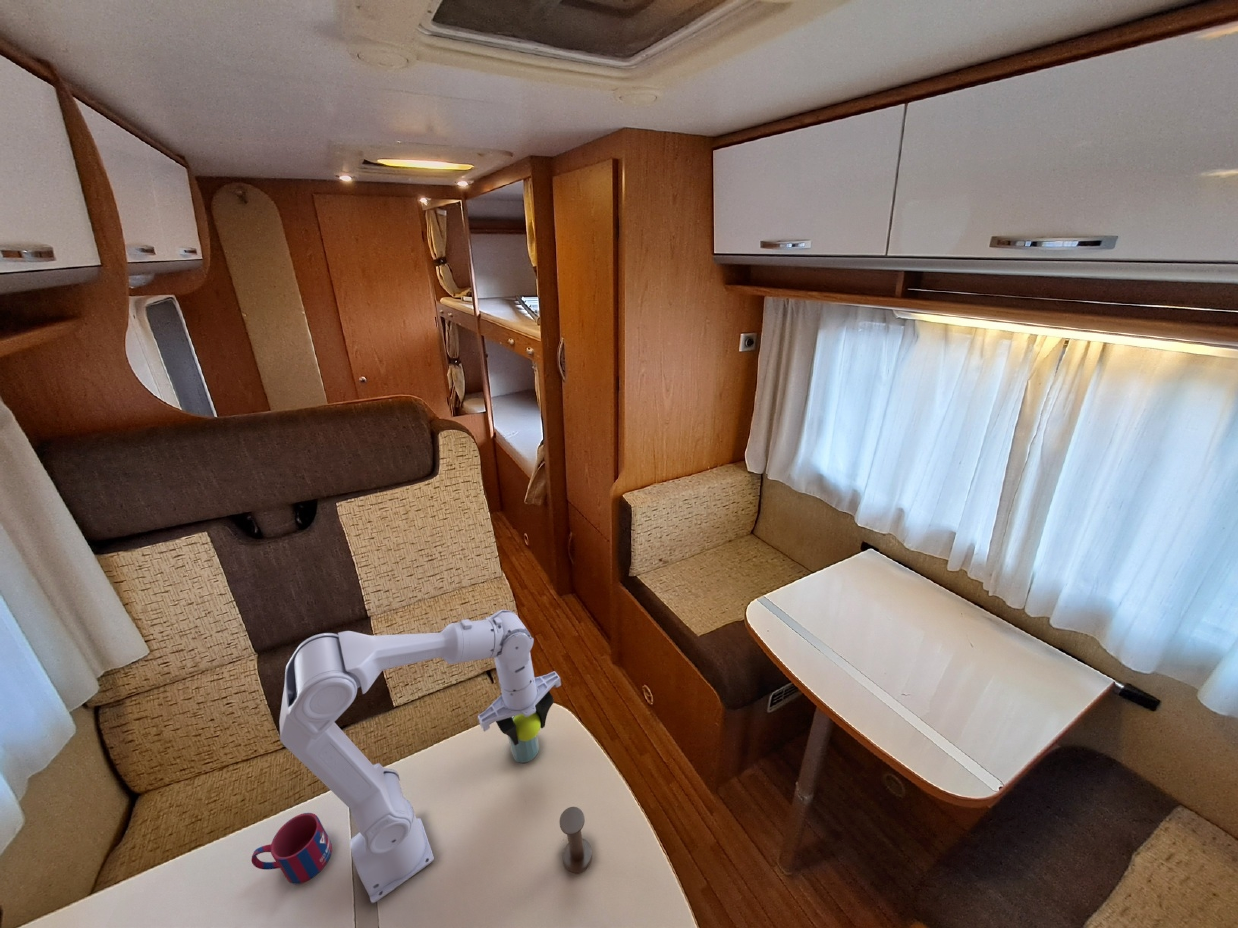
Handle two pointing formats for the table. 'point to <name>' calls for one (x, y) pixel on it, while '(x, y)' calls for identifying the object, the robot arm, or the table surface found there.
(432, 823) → the table surface
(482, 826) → the table surface
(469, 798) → the table surface
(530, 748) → the tumbler
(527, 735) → the ball
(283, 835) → the cup
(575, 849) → the stand
